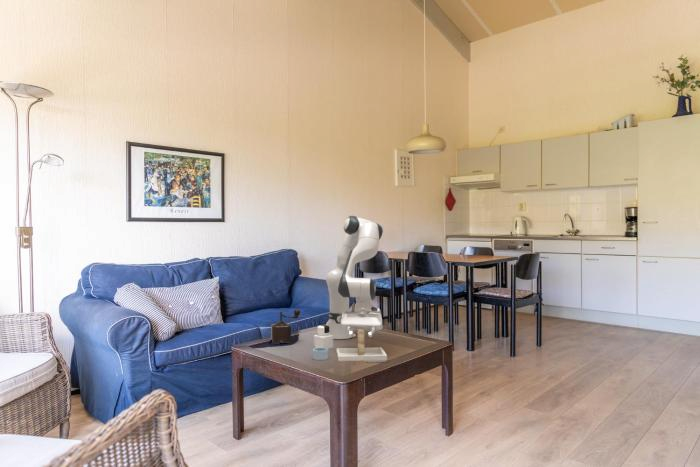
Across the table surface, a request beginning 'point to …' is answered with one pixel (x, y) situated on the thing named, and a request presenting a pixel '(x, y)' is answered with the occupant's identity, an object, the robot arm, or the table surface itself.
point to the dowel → (361, 343)
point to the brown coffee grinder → (282, 329)
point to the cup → (320, 353)
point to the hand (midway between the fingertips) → (360, 336)
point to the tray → (370, 355)
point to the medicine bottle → (323, 337)
